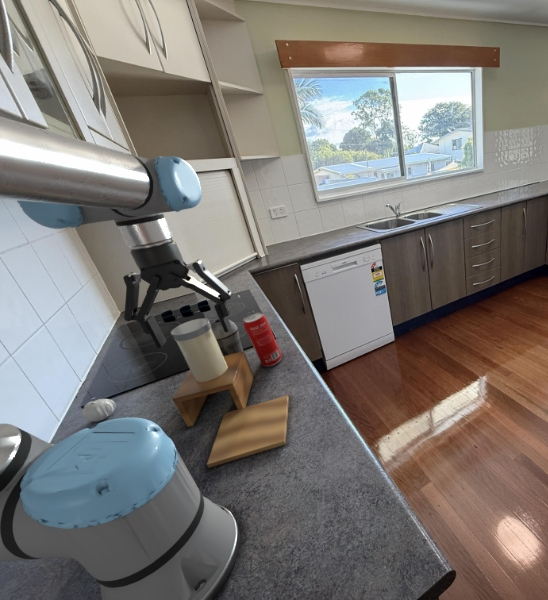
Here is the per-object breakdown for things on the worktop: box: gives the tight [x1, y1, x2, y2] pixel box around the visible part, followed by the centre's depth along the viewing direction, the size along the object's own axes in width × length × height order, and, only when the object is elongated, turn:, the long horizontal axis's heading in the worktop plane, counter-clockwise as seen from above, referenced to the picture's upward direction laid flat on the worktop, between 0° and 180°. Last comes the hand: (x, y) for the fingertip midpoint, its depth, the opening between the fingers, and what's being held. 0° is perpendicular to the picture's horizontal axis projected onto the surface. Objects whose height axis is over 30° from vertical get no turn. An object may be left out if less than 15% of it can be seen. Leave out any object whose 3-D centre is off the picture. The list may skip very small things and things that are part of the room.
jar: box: [170, 317, 228, 382], centre depth 71 cm, size 7×7×12 cm
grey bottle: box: [210, 302, 244, 356], centre depth 84 cm, size 7×7×20 cm
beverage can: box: [242, 311, 283, 368], centre depth 86 cm, size 6×6×15 cm
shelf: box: [172, 350, 255, 428], centre depth 75 cm, size 14×12×8 cm
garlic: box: [81, 398, 117, 422], centre depth 75 cm, size 6×5×5 cm
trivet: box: [206, 395, 290, 469], centre depth 66 cm, size 14×14×1 cm
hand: (195, 337), depth 70 cm, fingers open, 13 cm apart
